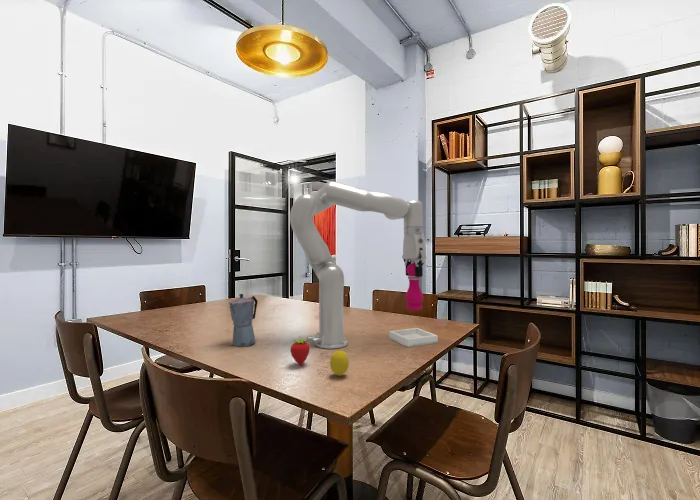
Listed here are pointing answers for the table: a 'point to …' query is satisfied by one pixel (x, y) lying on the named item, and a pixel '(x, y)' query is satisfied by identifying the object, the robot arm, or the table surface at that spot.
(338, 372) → the lemon
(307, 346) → the strawberry
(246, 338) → the moka pot
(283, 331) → the table surface
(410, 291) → the pepper mill
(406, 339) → the tray
